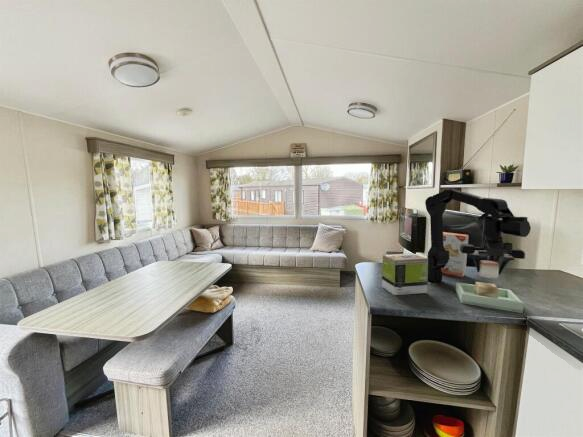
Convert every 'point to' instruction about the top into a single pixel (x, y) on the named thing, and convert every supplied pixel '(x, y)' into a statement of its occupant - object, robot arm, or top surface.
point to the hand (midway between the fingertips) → (488, 273)
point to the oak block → (486, 290)
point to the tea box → (405, 274)
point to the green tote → (489, 298)
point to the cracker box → (455, 254)
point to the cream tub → (489, 269)
